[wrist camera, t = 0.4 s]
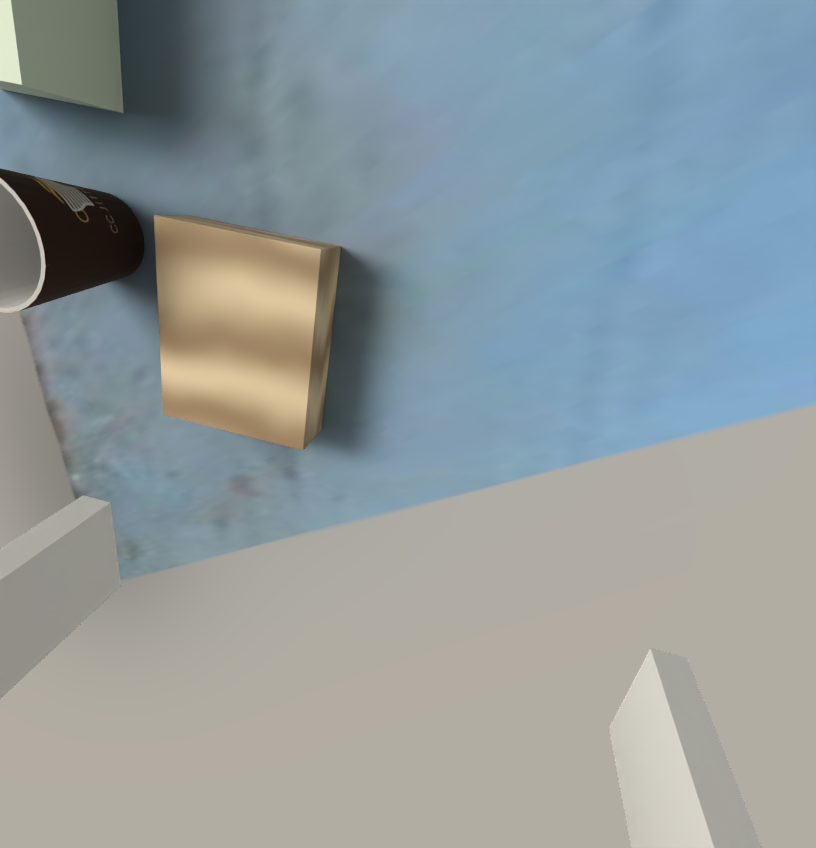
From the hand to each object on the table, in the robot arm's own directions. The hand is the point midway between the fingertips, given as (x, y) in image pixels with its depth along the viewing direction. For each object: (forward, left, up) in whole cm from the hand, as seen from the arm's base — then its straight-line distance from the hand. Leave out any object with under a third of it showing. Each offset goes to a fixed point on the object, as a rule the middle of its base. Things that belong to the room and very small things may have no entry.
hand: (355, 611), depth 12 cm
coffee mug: (-4, -30, -27) cm, 41 cm away
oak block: (+2, -16, -27) cm, 31 cm away
